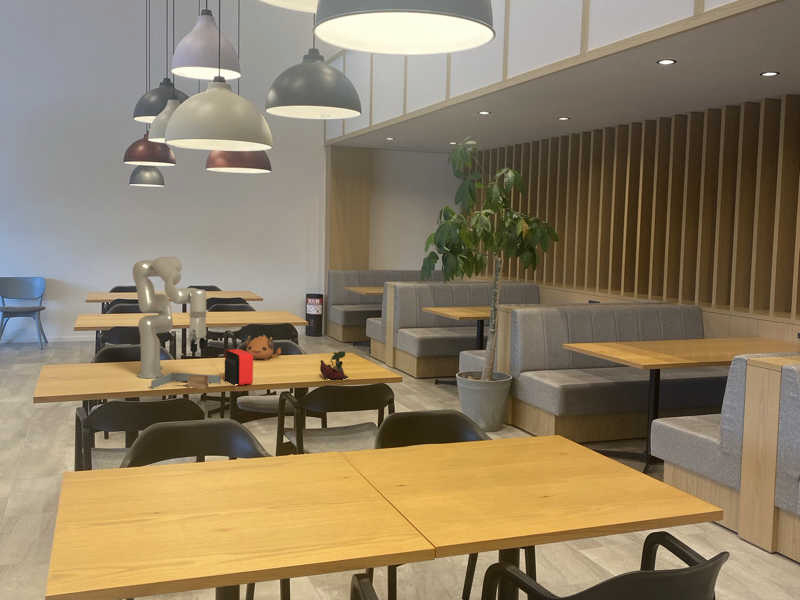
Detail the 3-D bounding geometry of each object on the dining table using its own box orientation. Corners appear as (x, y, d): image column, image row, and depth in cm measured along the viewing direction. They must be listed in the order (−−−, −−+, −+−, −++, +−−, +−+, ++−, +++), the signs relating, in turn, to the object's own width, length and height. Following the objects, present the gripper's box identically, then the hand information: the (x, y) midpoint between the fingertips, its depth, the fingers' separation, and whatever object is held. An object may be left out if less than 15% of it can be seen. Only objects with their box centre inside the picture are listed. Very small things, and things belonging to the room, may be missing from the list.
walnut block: (192, 386, 375) (192, 374, 374) (208, 387, 374) (208, 375, 373) (188, 388, 370) (188, 376, 370) (204, 389, 369) (204, 377, 368)
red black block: (235, 387, 375) (235, 355, 374) (220, 379, 392) (221, 349, 391) (253, 385, 381) (253, 354, 379) (238, 378, 397) (239, 348, 396)
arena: (172, 380, 388) (172, 372, 387) (220, 383, 383) (220, 375, 383) (151, 388, 367) (151, 380, 366) (202, 392, 362) (202, 383, 362)
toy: (240, 359, 446) (242, 333, 447) (250, 359, 463) (252, 334, 464) (272, 361, 443) (273, 335, 444) (281, 361, 460) (282, 336, 461)
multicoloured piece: (349, 381, 396) (350, 353, 395) (320, 382, 394) (321, 353, 393) (347, 376, 410) (348, 349, 409) (319, 376, 408) (320, 349, 407)
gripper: (198, 312, 378) (198, 347, 379) (182, 316, 361) (182, 352, 362) (212, 313, 376) (212, 347, 378) (197, 317, 359) (197, 353, 361)
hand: (198, 350), depth 370 cm, fingers open, 9 cm apart
